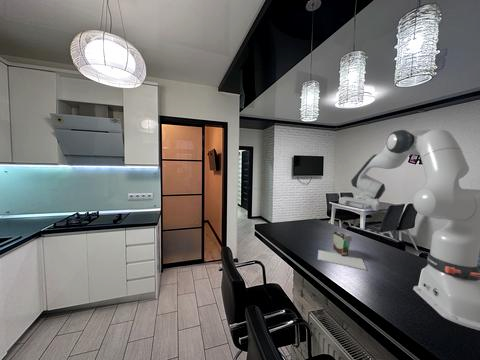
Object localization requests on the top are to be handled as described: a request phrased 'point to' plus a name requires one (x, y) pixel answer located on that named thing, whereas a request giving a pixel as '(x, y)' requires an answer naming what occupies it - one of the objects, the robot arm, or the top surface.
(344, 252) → the food container
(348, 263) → the rubber mat
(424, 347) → the top surface
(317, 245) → the top surface
